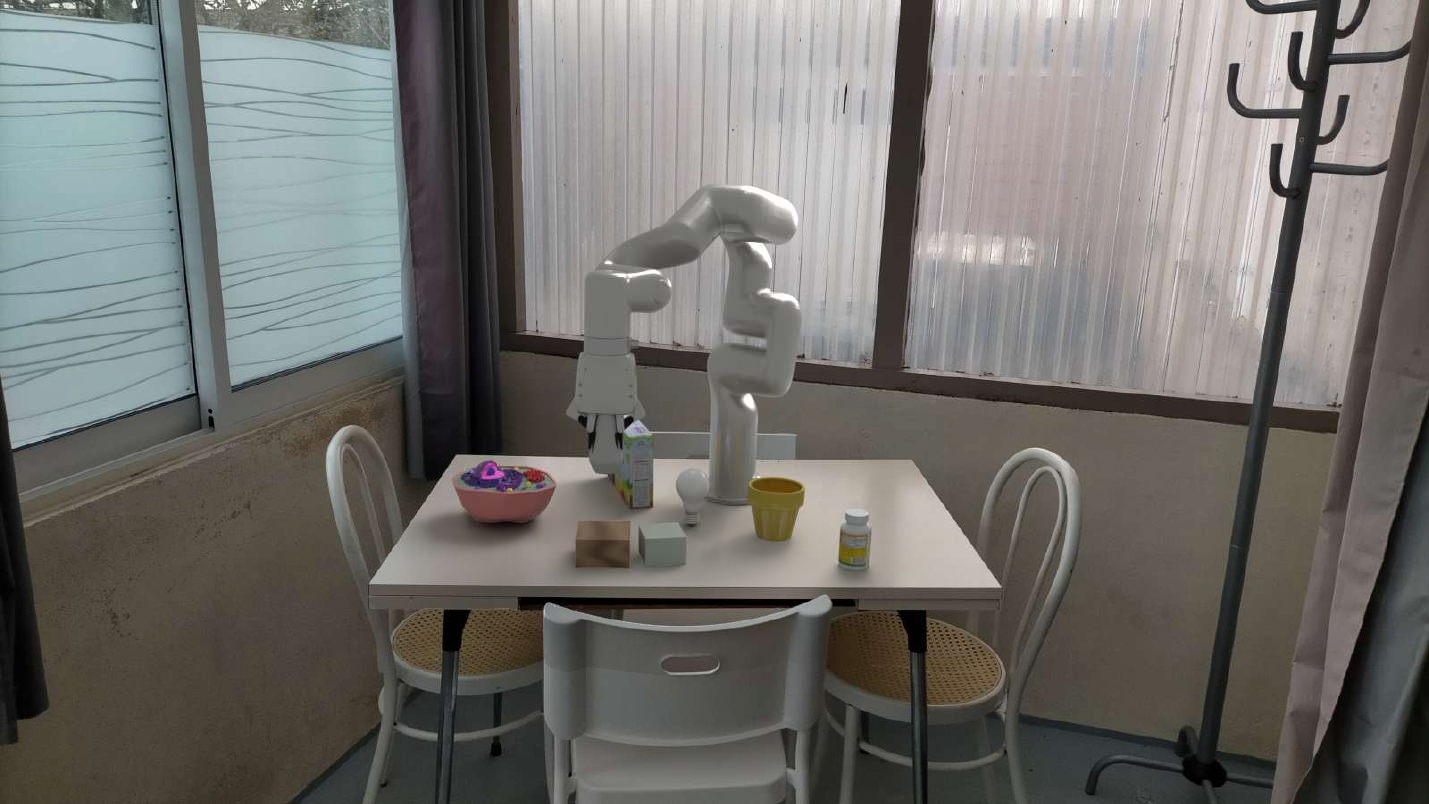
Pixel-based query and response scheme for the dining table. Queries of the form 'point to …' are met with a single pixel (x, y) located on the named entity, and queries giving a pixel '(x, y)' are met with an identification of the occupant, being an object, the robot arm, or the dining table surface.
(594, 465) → the salt shaker
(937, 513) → the dining table surface
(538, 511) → the cell model
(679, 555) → the sage block
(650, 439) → the snack box
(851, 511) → the supplement bottle
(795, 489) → the plant pot
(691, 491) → the lightbulb
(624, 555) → the walnut block
